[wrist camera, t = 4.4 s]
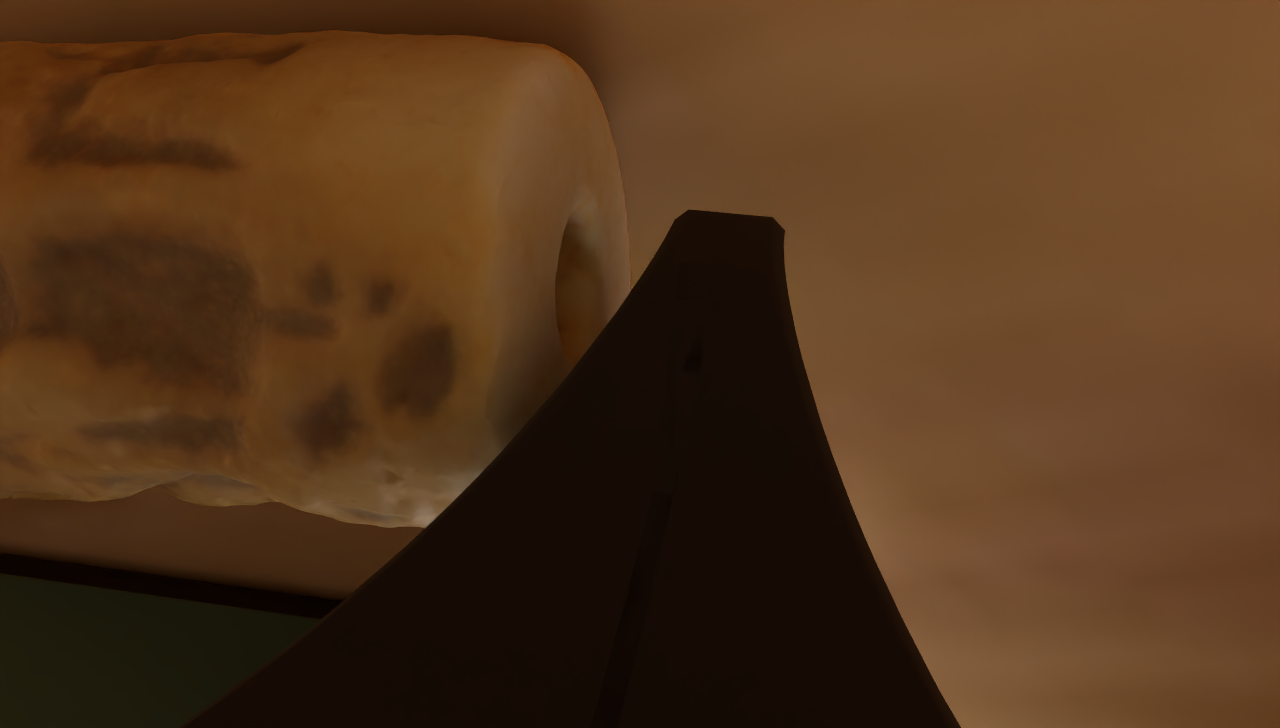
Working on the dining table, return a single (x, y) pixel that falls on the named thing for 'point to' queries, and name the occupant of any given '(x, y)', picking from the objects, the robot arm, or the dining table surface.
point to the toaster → (130, 644)
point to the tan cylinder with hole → (294, 264)
